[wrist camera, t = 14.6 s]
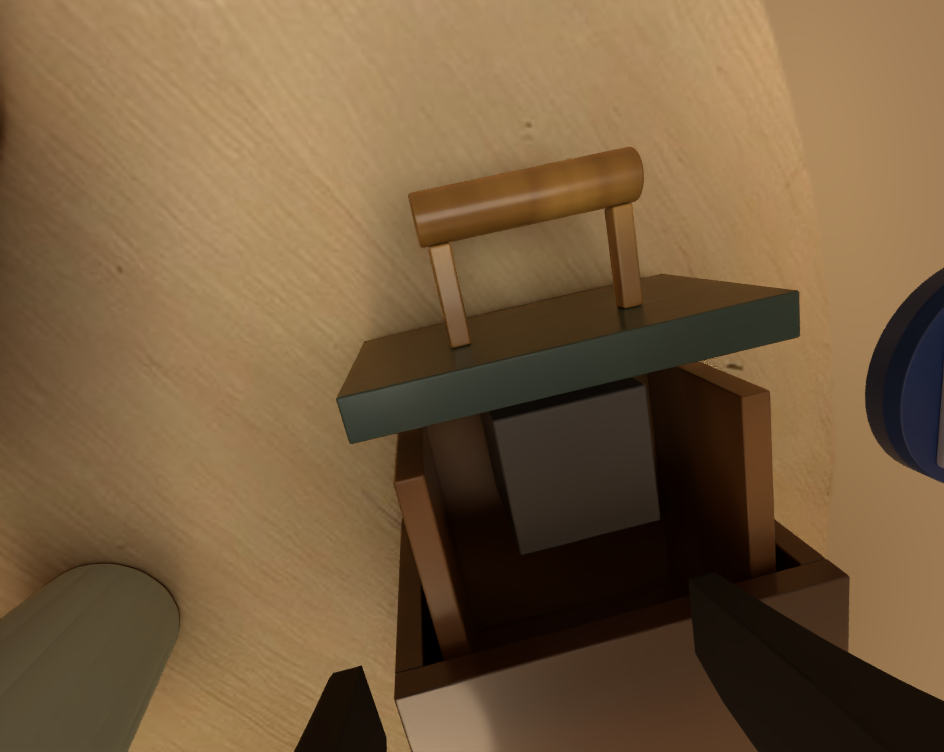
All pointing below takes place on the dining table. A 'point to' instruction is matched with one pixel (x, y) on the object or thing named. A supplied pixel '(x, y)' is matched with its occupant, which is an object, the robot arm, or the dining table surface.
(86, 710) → the cup
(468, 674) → the cabinet
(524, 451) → the block
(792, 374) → the dining table surface
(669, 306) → the drawer
